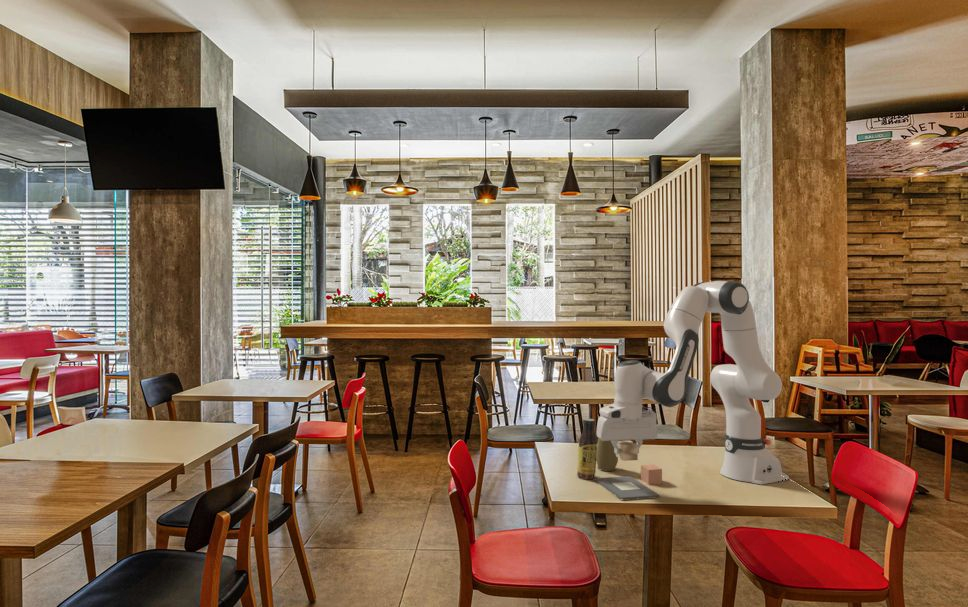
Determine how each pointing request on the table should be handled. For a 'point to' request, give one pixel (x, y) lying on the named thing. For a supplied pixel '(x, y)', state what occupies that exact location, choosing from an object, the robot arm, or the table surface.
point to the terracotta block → (651, 474)
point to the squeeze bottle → (606, 456)
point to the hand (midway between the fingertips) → (626, 453)
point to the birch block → (628, 450)
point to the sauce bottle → (587, 451)
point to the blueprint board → (626, 487)
